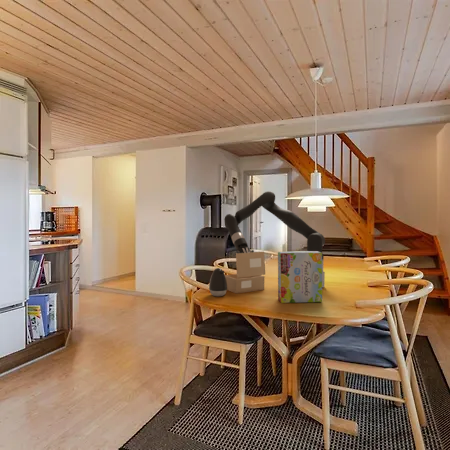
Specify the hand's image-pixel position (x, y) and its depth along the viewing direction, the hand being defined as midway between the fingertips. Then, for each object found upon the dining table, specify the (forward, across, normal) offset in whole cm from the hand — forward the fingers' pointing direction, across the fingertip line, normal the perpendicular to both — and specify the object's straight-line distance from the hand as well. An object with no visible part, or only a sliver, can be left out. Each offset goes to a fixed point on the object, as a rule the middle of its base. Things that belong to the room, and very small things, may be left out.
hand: (250, 264), depth 194 cm
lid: (0, 0, 0) cm, 1 cm away
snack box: (+33, +10, -11) cm, 36 cm away
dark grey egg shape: (+12, -21, +11) cm, 26 cm away
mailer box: (+7, 0, +16) cm, 17 cm away
